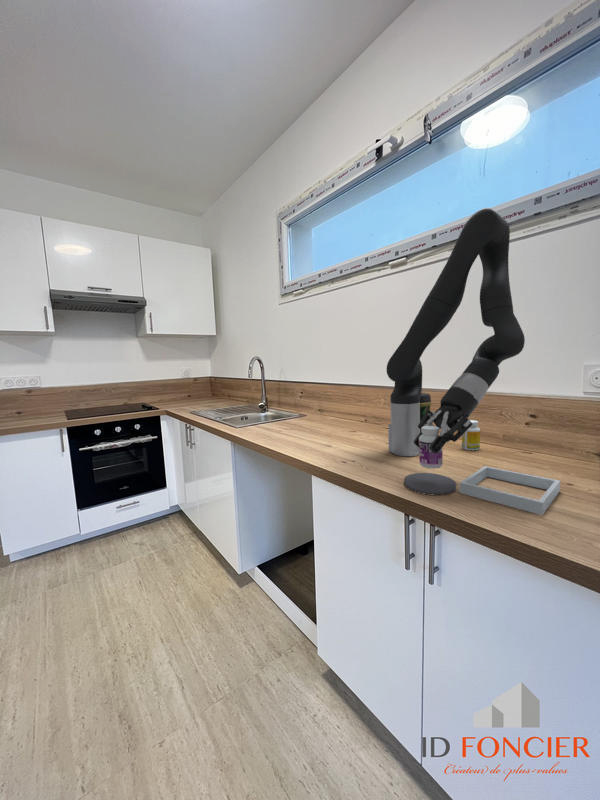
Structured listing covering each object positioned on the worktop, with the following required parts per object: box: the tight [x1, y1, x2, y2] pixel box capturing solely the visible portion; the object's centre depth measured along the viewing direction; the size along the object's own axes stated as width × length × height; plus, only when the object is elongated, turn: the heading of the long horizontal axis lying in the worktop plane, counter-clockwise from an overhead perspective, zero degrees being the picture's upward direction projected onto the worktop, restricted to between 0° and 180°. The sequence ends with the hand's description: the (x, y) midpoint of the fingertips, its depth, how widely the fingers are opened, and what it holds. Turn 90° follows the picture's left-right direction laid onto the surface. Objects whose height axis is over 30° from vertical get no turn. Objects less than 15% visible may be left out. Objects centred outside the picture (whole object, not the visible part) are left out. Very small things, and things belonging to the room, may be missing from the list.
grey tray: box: [459, 465, 561, 516], centre depth 73 cm, size 16×16×2 cm
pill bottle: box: [418, 425, 443, 470], centre depth 78 cm, size 5×5×10 cm
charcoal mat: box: [403, 472, 457, 496], centre depth 79 cm, size 12×12×1 cm
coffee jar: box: [420, 392, 432, 432], centre depth 122 cm, size 10×8×19 cm
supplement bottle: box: [461, 419, 481, 452], centre depth 107 cm, size 5×5×10 cm
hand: (424, 447), depth 77 cm, fingers closed on pill bottle, 5 cm apart
